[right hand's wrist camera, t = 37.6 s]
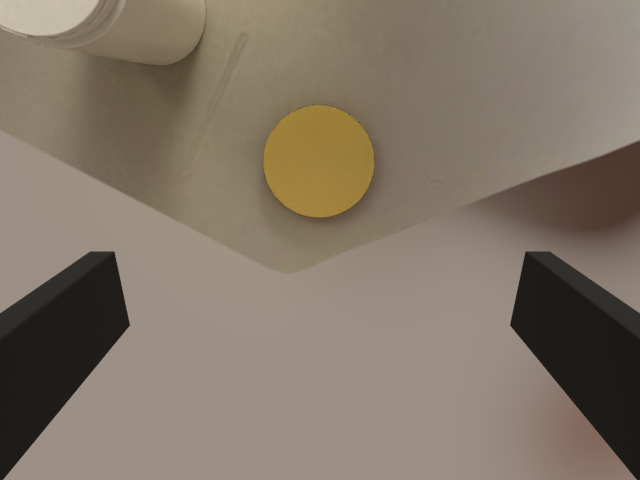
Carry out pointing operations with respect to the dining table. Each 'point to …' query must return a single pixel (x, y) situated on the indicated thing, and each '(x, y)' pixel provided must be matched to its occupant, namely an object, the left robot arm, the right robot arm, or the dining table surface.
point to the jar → (110, 27)
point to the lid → (318, 161)
